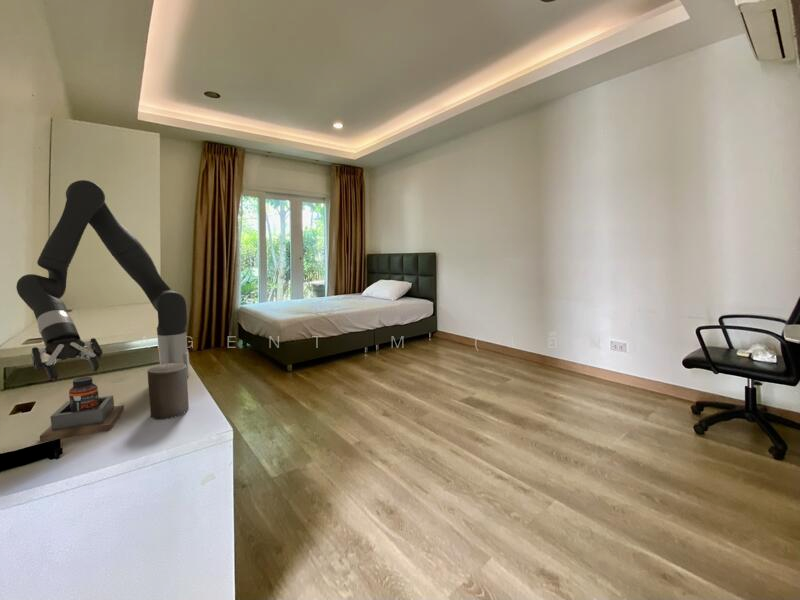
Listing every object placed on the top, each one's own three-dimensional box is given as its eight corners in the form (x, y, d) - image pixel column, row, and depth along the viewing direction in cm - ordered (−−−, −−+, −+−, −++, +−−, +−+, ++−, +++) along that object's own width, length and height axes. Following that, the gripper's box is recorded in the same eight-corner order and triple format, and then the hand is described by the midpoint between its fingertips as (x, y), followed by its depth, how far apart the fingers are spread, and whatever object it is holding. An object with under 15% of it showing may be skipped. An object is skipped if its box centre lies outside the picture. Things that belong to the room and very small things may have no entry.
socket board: (124, 409, 107) (123, 405, 107) (110, 429, 95) (109, 424, 95) (63, 418, 101) (63, 413, 101) (40, 441, 89) (39, 436, 89)
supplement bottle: (83, 424, 95) (78, 383, 94) (65, 422, 96) (61, 381, 95) (106, 414, 101) (102, 376, 99) (89, 413, 102) (85, 374, 101)
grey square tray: (114, 408, 105) (113, 395, 104) (103, 423, 96) (101, 408, 95) (68, 415, 100) (67, 401, 100) (52, 431, 91) (50, 416, 91)
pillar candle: (148, 422, 99) (144, 370, 98) (153, 409, 108) (149, 361, 106) (188, 415, 104) (185, 365, 102) (190, 403, 112) (187, 357, 111)
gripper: (24, 325, 96) (42, 374, 91) (91, 317, 108) (110, 360, 103) (22, 342, 100) (39, 389, 95) (87, 332, 112) (105, 374, 107)
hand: (76, 374), depth 99 cm, fingers open, 8 cm apart
